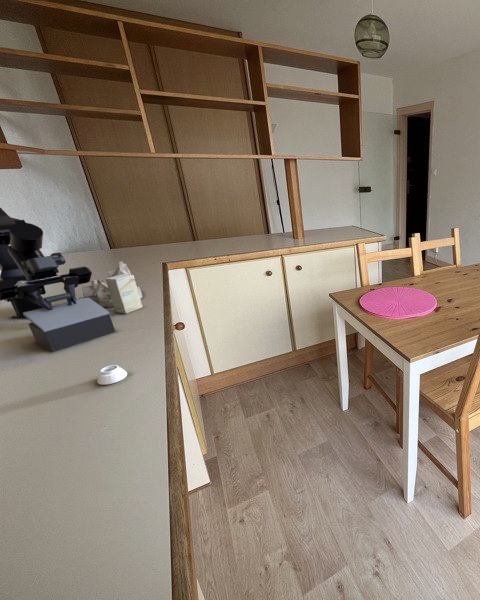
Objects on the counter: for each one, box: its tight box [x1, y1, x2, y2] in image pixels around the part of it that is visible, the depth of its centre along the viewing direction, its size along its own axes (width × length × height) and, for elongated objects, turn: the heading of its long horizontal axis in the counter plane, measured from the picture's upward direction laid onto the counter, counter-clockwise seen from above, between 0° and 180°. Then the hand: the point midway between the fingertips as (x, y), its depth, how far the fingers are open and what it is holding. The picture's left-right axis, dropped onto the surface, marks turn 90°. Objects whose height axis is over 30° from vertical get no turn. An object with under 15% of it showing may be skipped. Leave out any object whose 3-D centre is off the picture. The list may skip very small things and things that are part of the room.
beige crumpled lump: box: [81, 261, 143, 308], centre depth 114 cm, size 16×16×15 cm
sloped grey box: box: [28, 313, 116, 353], centre depth 89 cm, size 11×14×6 cm
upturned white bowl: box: [96, 364, 128, 386], centre depth 71 cm, size 5×3×5 cm
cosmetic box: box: [104, 274, 144, 314], centre depth 106 cm, size 6×4×12 cm
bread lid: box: [23, 292, 110, 332], centre depth 86 cm, size 11×14×5 cm
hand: (62, 306), depth 87 cm, fingers closed on bread lid, 5 cm apart
